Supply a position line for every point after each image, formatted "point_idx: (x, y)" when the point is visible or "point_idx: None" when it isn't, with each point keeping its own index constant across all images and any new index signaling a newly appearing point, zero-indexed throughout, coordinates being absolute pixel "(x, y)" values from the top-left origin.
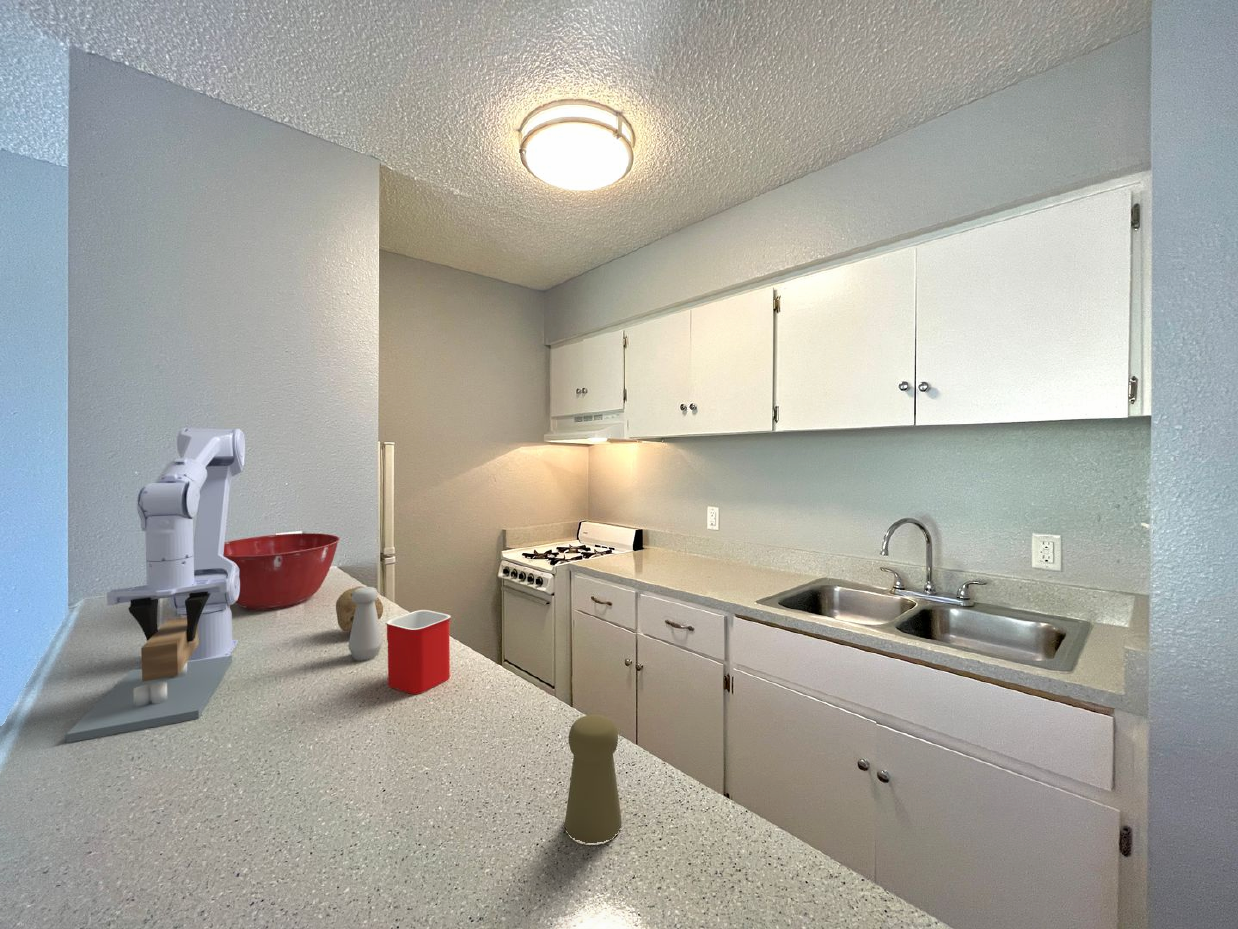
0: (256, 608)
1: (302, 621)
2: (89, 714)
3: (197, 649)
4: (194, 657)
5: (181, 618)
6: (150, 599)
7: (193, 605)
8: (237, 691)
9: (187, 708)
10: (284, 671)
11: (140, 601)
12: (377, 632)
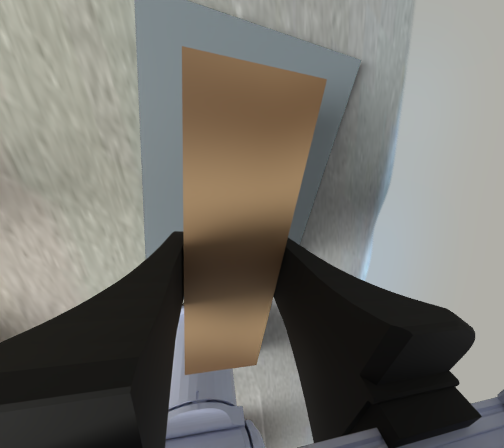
0: None
1: None
2: (329, 143)
3: None
4: None
5: (224, 365)
6: (386, 428)
7: (81, 339)
8: (92, 133)
9: (167, 27)
10: (8, 199)
11: (428, 407)
12: None
